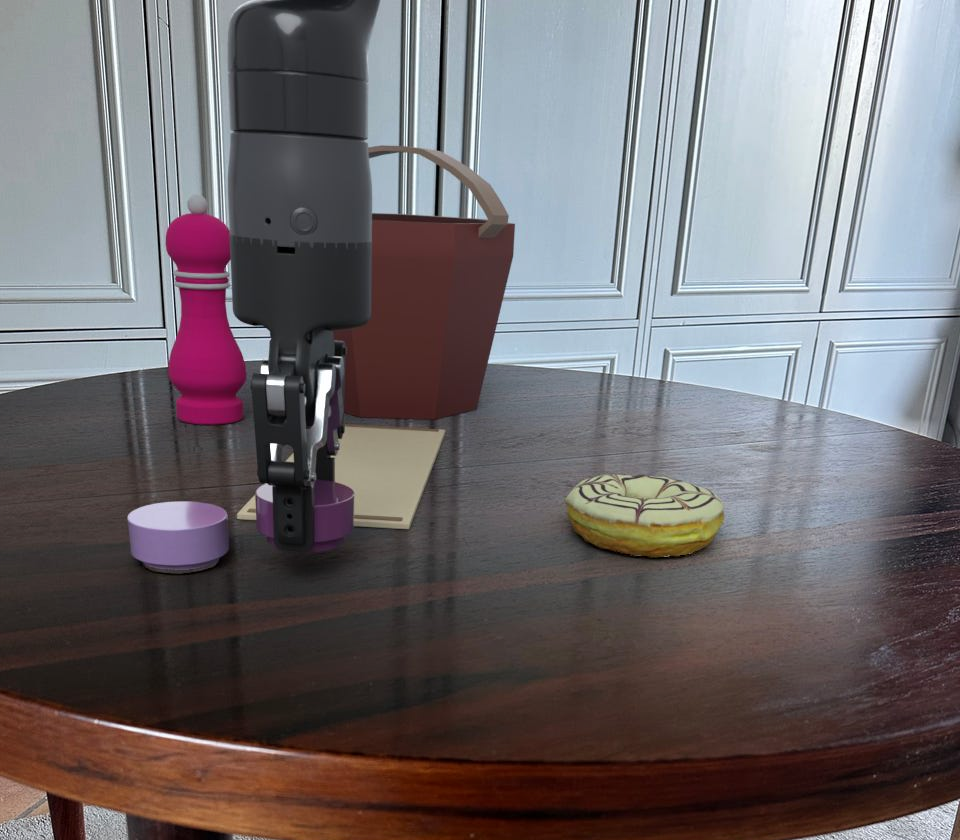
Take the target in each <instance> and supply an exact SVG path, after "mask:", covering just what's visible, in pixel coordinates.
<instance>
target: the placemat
mask: <svg viewBox="0 0 960 840" xmlns="http://www.w3.org/2000/svg"><path fill="white" fill-rule="evenodd" d="M343 425H344V426H345V432H344V433H343V437H342V439H338V442H339V443H340V449H339V450H338V453H337V456H331V457H333V458H335V482H337V483H340V484H343V485H346V486H348V487H350V488H351V489H352V490H353V491H354V494H355V505H354V527H361V528H362V527H364V528H380V529H395V530H397V529H399V530H410V528H411V526H412V523H413V521H414V518H415V515H416V512H417V509H418V507H419V504H420V502H421V499H422V497H423V494H424V491H425V488H426V486H427V483H428V481H429V478H430V476H431V473H432V470H433V467H434V464H435V462H436V460H437V457H438V454H439V451H440V449H441V446H442V444H443V440H444V439H445V435H446V429H440V428H439V429H437V428H420V427H405V426H404V427H403V426H402V427H401V426H386V425H370V424H369V425H365V424H352V423H351V424H348V423H344V424H343ZM284 462H294V453H292V454H291V455H290V456H289V457H288V458H287V459H286V460H285V461H284ZM264 484H267V483H264ZM236 519H237V520H243V521H244V520H245V521H256V501H255V494H254V495H253V496H252V497H251V498H250V499H249V501H247V502H246V503H245V504H244V506H243V507H242V508H241V509H240V510H239V511H238V512H237V513H236Z"/></svg>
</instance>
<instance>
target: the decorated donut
mask: <svg viewBox="0 0 960 840" xmlns="http://www.w3.org/2000/svg"><path fill="white" fill-rule="evenodd" d="M564 503H565V505H566V509H567V517H568V520H569V522H570V524H571V526H572V527H573V529H574V532H575V534H577V535H579V536H581V537H582V539H584V541H585V542H587V543H591V544H592V545H594V546H595V547H598V548H600V549H603V550H610V551H613V552H616V551H617V552H616V553H618V552H620V553H619V554H625V555H627V554H632V555H641V556H651V557H650V558H653V557H654V556H655V557H654V558H658V557H664V556H668V555H670V556H674V557H681V556H680V555H685V556H687V555H686V554H689V553H692V554H694V553H696V552H695V551H697V552H698V550H699V551H700V550H702V549H703V548H705V547H706V546H708V545H709V544H710V543H712V541H713V540H714V539H715V537H716V535H717V534H718V532H719V531H720V528H721V527H722V525H723V524H724V520H725V504H724V503H723V501H722V499H721V498H720V497H719V496H717V494H716V493H715V492H713V491H711V489H707V488H706V487H702V486H699V485H696V484H693V483H690V482H687V481H683V480H679V479H677V478H673V477H669V476H657V475H650V474H649V475H648V474H627V475H625V474H602V475H598V476H594V477H589V478H585V479H583V480H581V481H580V482H579V483H577V484H576V485H575V486H574V487H573V488H572V489H571V491H570V492H569V494H568V495H567V496H566V498H565V501H564ZM693 552H694V553H693ZM632 555H631V556H632Z"/></svg>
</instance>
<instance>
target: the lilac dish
mask: <svg viewBox="0 0 960 840" xmlns="http://www.w3.org/2000/svg"><path fill="white" fill-rule="evenodd" d="M228 516H229V515H228V511H226V510H225V509H224V508H222V507H220V506H218V505H216V504H212V503H207V502H200V501H187V500H185V501H183V500H181V501H180V500H179V501H164V502H158V503H152V504H147V505H144V506H140V507H138V508H135V509H134V510H132V511H130V512H128V515H127V517H126V522H127V533H128V541H129V551H130V555H131V556H132V557H133V558H134V559H136V560H138V561H140V562H141V563H142V562H143V563H144V564H145V565H147V566H149V567H154V568H160V569H168V570H169V569H171V570H172V569H174V570H189V569H196V568H200V567H205V566H208V565H211V564H213V563H215V562H217V561H218V559H220V560H221V558H222V557H223V556H225V555H226V554H227V553H228V552H229V550H230V536H229V520H228Z"/></svg>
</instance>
